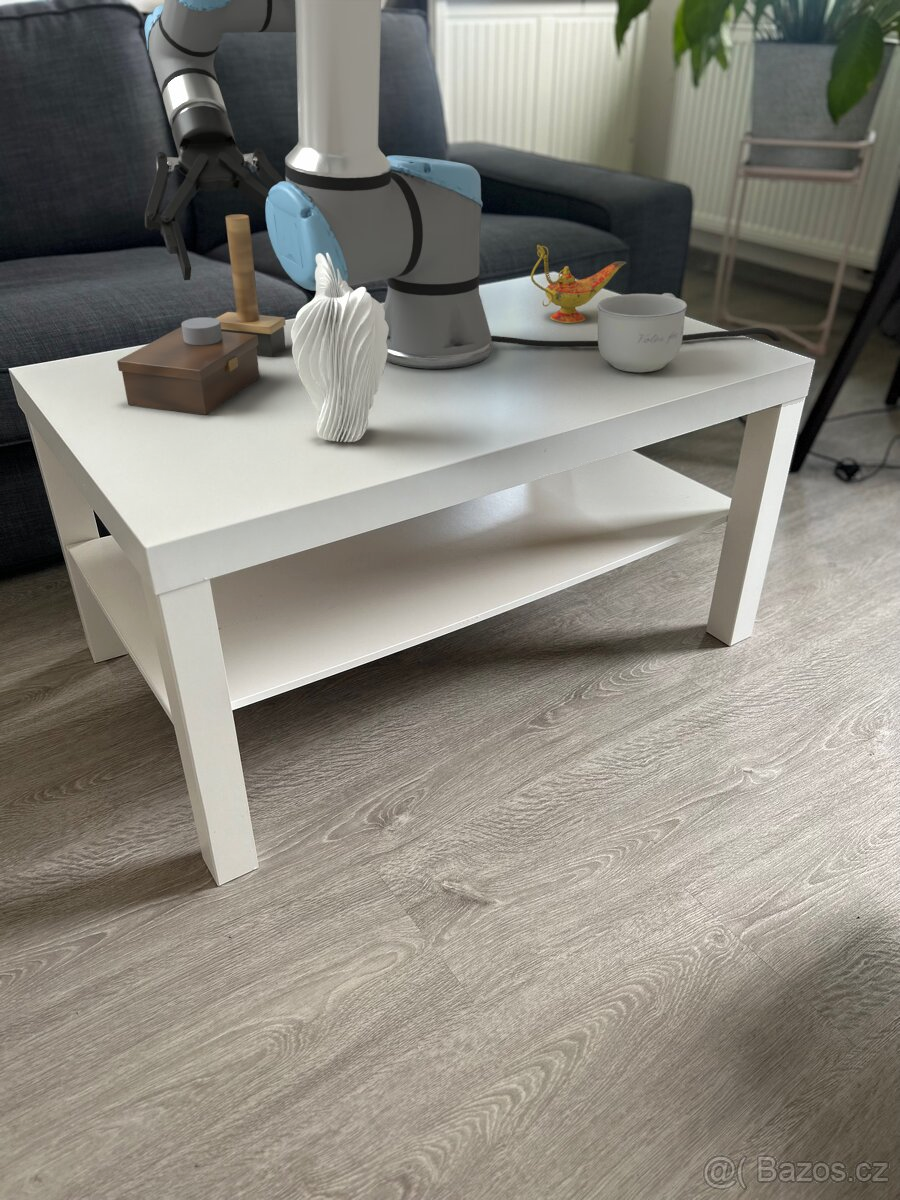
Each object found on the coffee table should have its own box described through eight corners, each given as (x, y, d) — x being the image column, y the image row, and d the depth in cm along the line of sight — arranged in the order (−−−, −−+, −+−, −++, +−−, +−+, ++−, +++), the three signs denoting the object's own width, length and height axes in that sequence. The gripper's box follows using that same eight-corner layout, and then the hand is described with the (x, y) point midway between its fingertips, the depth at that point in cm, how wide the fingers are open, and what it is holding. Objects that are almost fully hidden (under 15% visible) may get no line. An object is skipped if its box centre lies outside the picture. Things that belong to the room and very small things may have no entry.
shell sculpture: (375, 454, 94) (368, 272, 85) (297, 448, 95) (281, 267, 86) (393, 424, 101) (389, 252, 91) (320, 418, 102) (308, 248, 93)
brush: (287, 347, 123) (276, 215, 114) (273, 357, 120) (259, 222, 111) (231, 341, 125) (215, 211, 116) (214, 351, 122) (197, 217, 113)
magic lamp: (636, 312, 138) (645, 234, 133) (543, 332, 130) (549, 249, 124) (605, 301, 143) (612, 226, 137) (513, 320, 135) (517, 240, 129)
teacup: (641, 386, 112) (649, 319, 108) (574, 363, 119) (580, 299, 114) (710, 362, 120) (720, 299, 115) (643, 342, 126) (651, 281, 122)
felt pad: (229, 336, 110) (227, 319, 109) (210, 347, 107) (208, 329, 105) (196, 332, 111) (193, 315, 110) (176, 343, 108) (174, 326, 107)
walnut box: (263, 377, 113) (259, 335, 111) (208, 416, 103) (202, 370, 100) (186, 368, 116) (180, 326, 113) (125, 405, 105) (116, 360, 102)
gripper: (288, 139, 128) (330, 276, 125) (101, 148, 119) (140, 295, 116) (297, 99, 121) (341, 242, 118) (98, 105, 112) (140, 260, 109)
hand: (242, 269), depth 117 cm, fingers open, 13 cm apart
